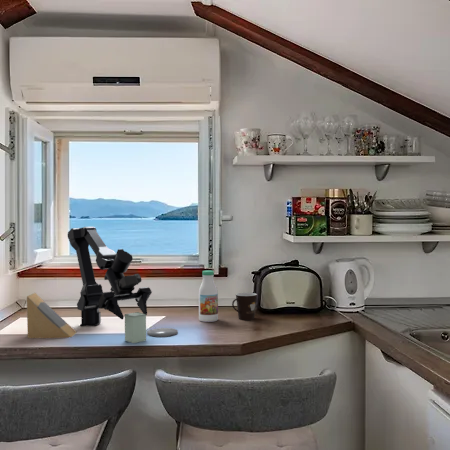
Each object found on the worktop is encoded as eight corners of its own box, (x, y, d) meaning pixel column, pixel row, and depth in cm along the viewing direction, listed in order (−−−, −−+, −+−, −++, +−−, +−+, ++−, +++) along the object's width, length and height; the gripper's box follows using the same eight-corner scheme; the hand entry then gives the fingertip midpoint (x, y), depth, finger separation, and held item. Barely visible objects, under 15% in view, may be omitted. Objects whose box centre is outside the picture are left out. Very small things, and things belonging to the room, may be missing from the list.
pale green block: (125, 340, 173) (124, 314, 173) (138, 337, 177) (137, 312, 177) (132, 343, 169) (132, 316, 169) (146, 340, 173) (145, 314, 173)
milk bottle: (194, 320, 204) (194, 270, 203) (208, 317, 210) (208, 269, 209) (208, 323, 199) (208, 272, 198) (222, 320, 204) (221, 270, 204)
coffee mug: (252, 315, 212) (252, 292, 212) (260, 320, 204) (260, 295, 204) (226, 317, 208) (225, 293, 208) (233, 322, 200) (232, 297, 200)
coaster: (144, 337, 178) (144, 335, 178) (149, 329, 189) (149, 328, 189) (176, 336, 178) (176, 335, 178) (179, 329, 189) (179, 327, 189)
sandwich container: (71, 338, 178) (70, 295, 177) (27, 338, 177) (26, 296, 177) (77, 332, 186) (77, 291, 186) (35, 332, 186) (34, 292, 185)
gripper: (101, 268, 171) (118, 305, 163) (148, 264, 183) (166, 298, 175) (91, 289, 177) (107, 326, 169) (137, 284, 189) (154, 318, 181)
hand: (134, 316), depth 173 cm, fingers open, 9 cm apart
